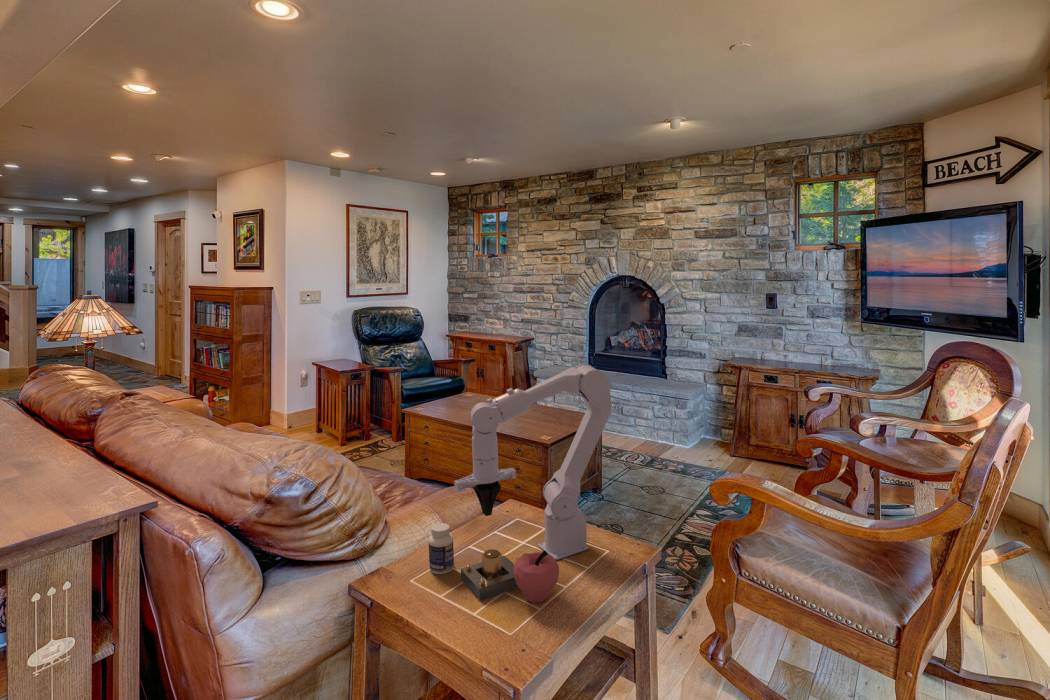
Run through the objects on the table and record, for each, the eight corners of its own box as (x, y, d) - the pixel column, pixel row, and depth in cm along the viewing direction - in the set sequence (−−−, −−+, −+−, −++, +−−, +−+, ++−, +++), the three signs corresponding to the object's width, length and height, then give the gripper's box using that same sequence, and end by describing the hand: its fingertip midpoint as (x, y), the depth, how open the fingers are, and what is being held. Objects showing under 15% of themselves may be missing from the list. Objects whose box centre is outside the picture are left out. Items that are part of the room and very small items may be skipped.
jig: (504, 565, 123) (504, 551, 123) (525, 584, 116) (524, 569, 115) (461, 579, 118) (460, 564, 117) (479, 600, 110) (479, 584, 110)
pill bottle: (449, 576, 119) (447, 533, 118) (425, 573, 120) (424, 531, 119) (457, 563, 125) (455, 522, 123) (434, 561, 126) (433, 520, 124)
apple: (532, 581, 117) (531, 536, 116) (567, 594, 112) (567, 547, 111) (505, 603, 109) (503, 556, 108) (541, 618, 104) (540, 569, 103)
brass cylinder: (498, 575, 120) (497, 547, 119) (504, 584, 116) (504, 555, 115) (480, 579, 118) (479, 550, 117) (486, 588, 114) (485, 559, 114)
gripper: (505, 446, 131) (506, 500, 133) (448, 457, 124) (450, 515, 126) (520, 454, 125) (521, 511, 127) (461, 466, 118) (463, 526, 120)
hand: (487, 513), depth 126 cm, fingers closed
